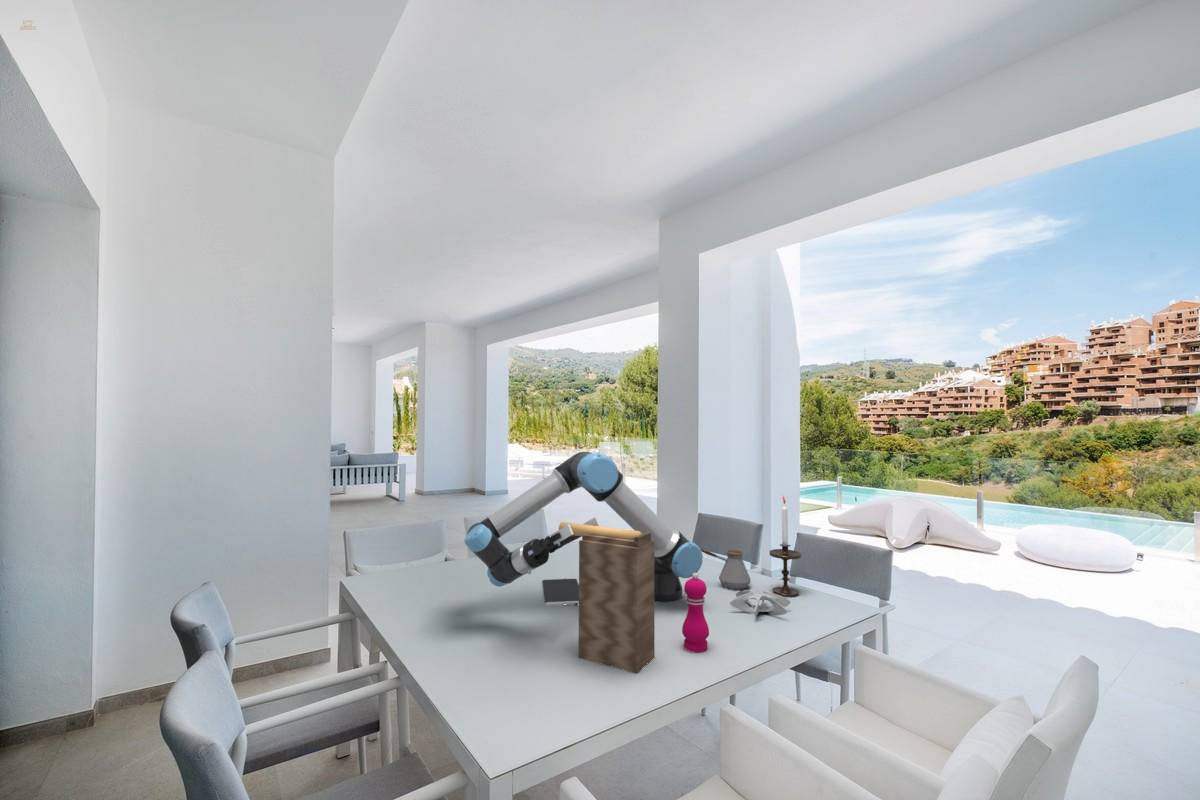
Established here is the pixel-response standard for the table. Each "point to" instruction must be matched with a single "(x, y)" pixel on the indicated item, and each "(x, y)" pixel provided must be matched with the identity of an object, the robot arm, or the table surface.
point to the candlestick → (785, 558)
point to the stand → (616, 601)
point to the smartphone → (560, 591)
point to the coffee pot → (733, 570)
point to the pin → (600, 531)
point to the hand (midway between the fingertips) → (584, 525)
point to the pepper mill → (695, 616)
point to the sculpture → (777, 603)
